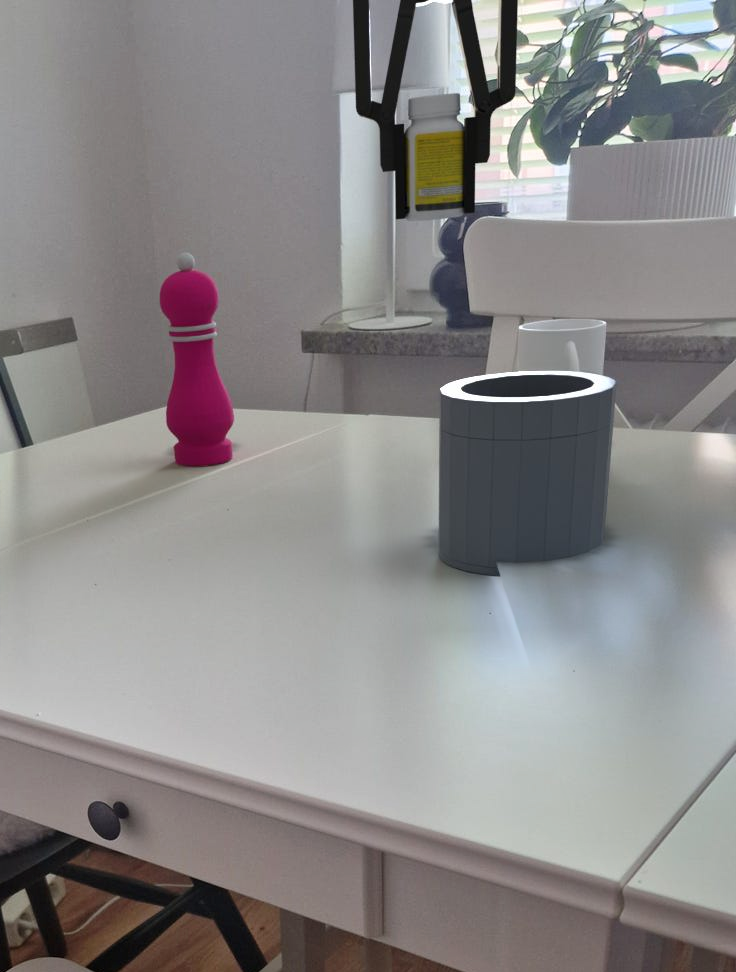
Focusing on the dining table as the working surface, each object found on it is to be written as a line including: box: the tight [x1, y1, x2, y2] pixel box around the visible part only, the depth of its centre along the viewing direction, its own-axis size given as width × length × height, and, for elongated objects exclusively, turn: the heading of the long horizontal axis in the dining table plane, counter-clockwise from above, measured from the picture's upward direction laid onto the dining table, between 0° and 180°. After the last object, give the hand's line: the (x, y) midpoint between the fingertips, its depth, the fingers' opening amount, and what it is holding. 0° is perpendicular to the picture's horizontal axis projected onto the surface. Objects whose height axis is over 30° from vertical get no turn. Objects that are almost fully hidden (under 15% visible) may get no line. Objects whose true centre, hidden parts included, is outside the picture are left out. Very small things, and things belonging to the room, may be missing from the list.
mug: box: [516, 318, 607, 376], centre depth 111 cm, size 12×8×12 cm
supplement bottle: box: [404, 92, 465, 222], centre depth 92 cm, size 5×5×8 cm
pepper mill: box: [159, 252, 235, 468], centre depth 120 cm, size 7×7×20 cm
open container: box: [437, 371, 618, 577], centre depth 86 cm, size 12×12×12 cm
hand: (434, 214), depth 94 cm, fingers closed on supplement bottle, 5 cm apart
